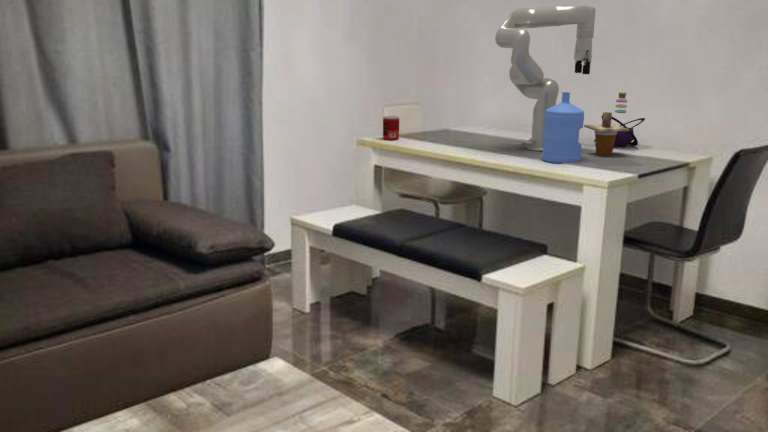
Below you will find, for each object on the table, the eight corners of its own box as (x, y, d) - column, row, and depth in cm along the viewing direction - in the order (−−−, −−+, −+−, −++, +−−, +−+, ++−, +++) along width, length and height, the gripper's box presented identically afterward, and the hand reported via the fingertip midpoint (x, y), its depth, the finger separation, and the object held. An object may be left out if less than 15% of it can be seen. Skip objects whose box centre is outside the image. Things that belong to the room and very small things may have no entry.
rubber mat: (600, 168, 285) (600, 165, 285) (585, 161, 300) (585, 158, 300) (644, 167, 287) (644, 165, 287) (626, 160, 302) (627, 158, 302)
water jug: (557, 165, 290) (562, 94, 283) (534, 158, 304) (538, 91, 297) (588, 162, 296) (594, 93, 289) (564, 156, 310) (569, 90, 303)
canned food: (401, 139, 354) (402, 116, 351) (393, 141, 347) (393, 118, 344) (388, 137, 358) (388, 115, 355) (379, 139, 351) (380, 117, 348)
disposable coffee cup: (611, 159, 305) (614, 131, 302) (589, 157, 310) (591, 129, 307) (617, 156, 313) (620, 128, 310) (595, 154, 318) (598, 126, 315)
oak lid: (596, 131, 301) (598, 114, 299) (584, 126, 314) (585, 111, 313) (628, 131, 302) (630, 114, 301) (615, 126, 316) (616, 111, 314)
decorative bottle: (652, 149, 332) (657, 94, 326) (612, 151, 326) (617, 95, 319) (622, 142, 353) (627, 90, 346) (584, 143, 346) (589, 90, 340)
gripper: (570, 34, 335) (567, 72, 340) (584, 35, 319) (580, 74, 323) (585, 34, 336) (582, 72, 340) (600, 35, 319) (597, 74, 324)
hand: (581, 73), depth 332 cm, fingers open, 9 cm apart
